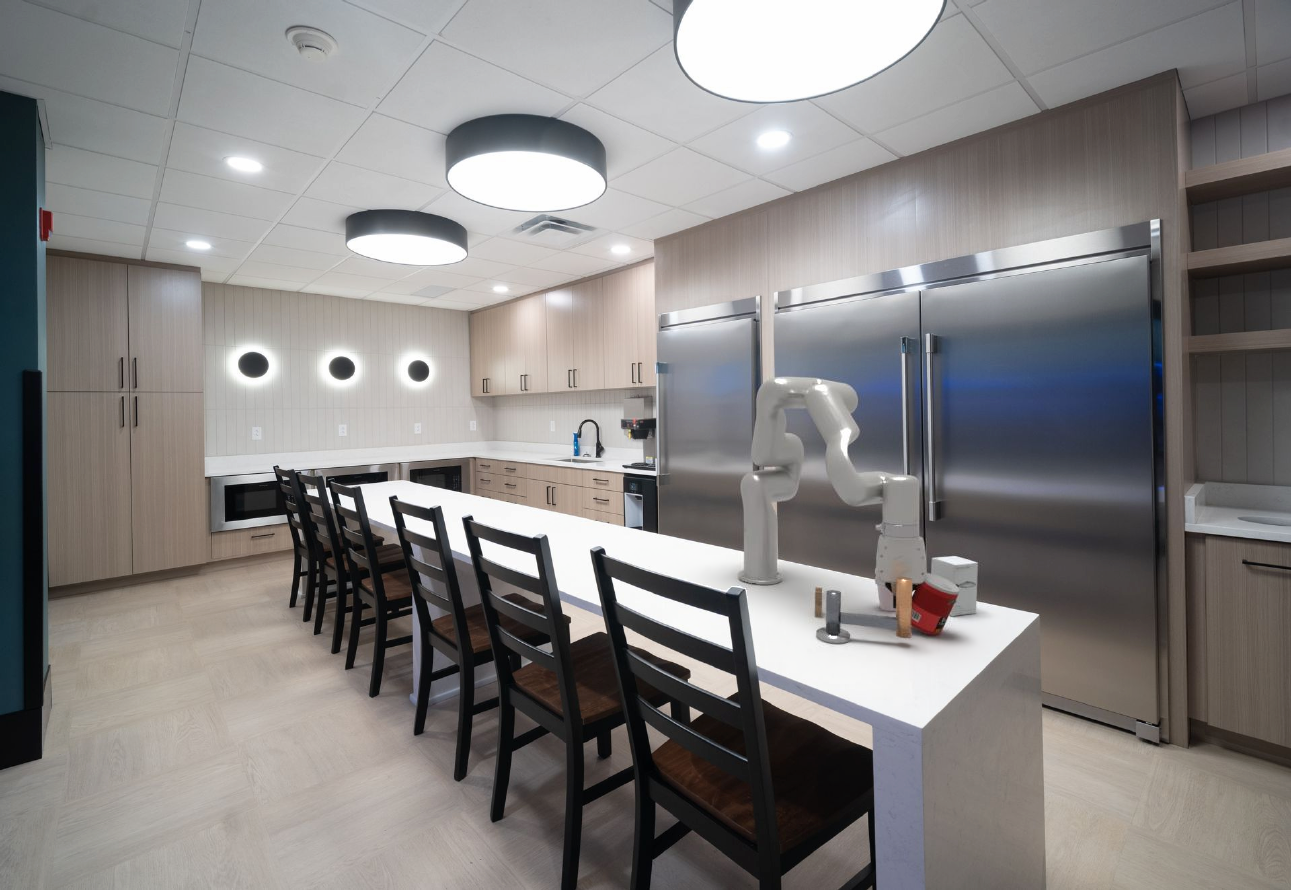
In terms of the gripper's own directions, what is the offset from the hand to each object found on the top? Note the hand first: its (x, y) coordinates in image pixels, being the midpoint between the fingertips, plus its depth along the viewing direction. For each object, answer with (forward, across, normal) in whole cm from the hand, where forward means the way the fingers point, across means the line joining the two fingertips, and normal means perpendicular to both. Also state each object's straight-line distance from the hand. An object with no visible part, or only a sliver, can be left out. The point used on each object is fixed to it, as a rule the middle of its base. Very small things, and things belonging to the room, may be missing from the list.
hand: (900, 611), depth 133 cm
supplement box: (+4, +14, +17) cm, 22 cm away
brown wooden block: (+4, -18, +5) cm, 19 cm away
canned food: (+3, +4, 0) cm, 5 cm away
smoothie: (+4, -2, +14) cm, 14 cm away
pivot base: (+4, -14, -9) cm, 18 cm away
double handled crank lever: (+3, -7, -9) cm, 12 cm away
